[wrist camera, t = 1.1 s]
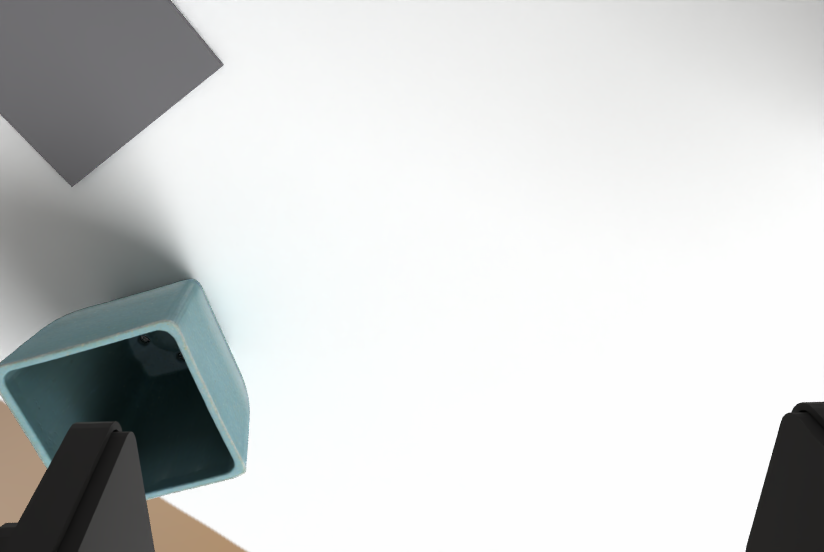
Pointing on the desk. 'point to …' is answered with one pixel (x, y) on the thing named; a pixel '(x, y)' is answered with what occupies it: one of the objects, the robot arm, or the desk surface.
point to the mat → (94, 74)
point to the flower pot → (138, 385)
